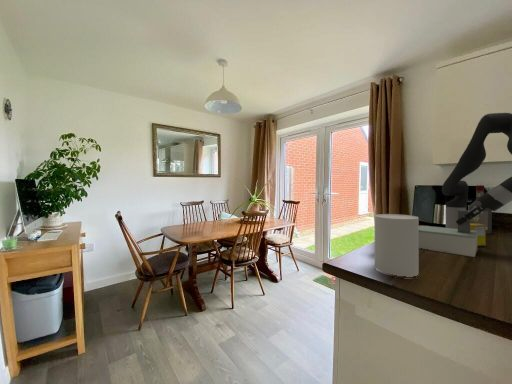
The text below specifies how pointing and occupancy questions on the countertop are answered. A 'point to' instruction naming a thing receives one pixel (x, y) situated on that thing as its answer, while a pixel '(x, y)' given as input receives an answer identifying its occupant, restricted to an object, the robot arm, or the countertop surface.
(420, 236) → the carton
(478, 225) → the supplement box
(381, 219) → the canister
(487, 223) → the liquor
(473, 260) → the countertop surface
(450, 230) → the carton lid
